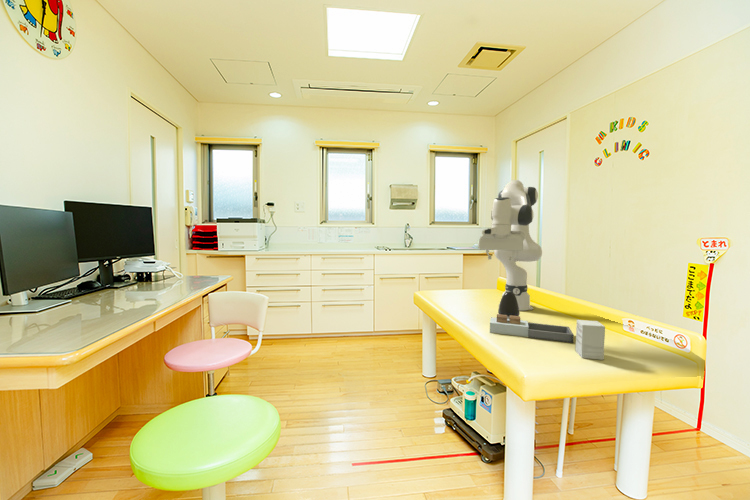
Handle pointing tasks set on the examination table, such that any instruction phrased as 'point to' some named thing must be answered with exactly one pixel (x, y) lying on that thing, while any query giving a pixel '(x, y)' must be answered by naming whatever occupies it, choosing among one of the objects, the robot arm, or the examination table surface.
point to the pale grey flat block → (509, 327)
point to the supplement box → (590, 339)
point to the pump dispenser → (509, 305)
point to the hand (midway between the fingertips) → (500, 259)
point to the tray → (550, 332)
